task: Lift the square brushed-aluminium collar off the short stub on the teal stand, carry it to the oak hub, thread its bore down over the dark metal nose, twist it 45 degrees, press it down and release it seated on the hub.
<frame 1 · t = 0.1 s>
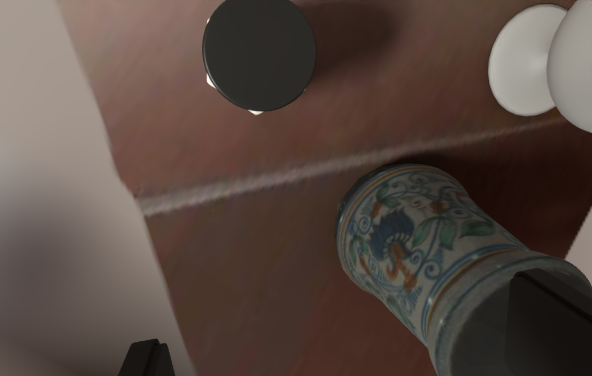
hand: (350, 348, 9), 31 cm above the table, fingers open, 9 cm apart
jar: (253, 63, 37), on the table
chalice: (533, 62, 41), on the table
beer stein: (404, 227, 45), on the table
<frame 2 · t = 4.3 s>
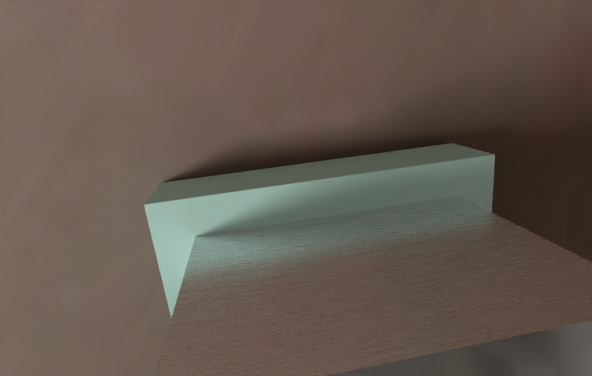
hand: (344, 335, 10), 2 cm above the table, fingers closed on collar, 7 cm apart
collar: (341, 328, 10), point 2 cm above the table, touching gripper, stand
stand: (325, 290, 12), on the table
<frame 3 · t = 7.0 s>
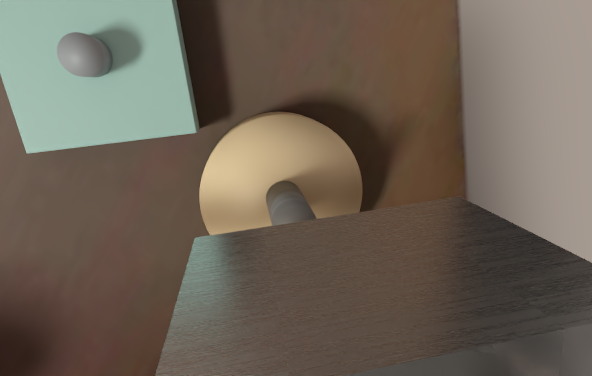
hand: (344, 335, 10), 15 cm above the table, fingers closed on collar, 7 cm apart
collar: (342, 330, 10), point 15 cm above the table, touching gripper
stand: (105, 59, 20), on the table
hub: (279, 186, 24), on the table
when the fingers open (3 cm above the table, at t = 10.0 s): collar stays where it is, resting on hub.
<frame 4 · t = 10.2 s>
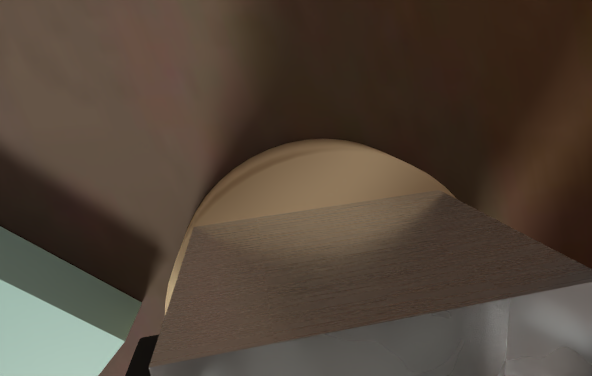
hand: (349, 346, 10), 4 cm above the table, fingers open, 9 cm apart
collar: (330, 314, 11), point 2 cm above the table, touching hub
hub: (318, 272, 13), on the table
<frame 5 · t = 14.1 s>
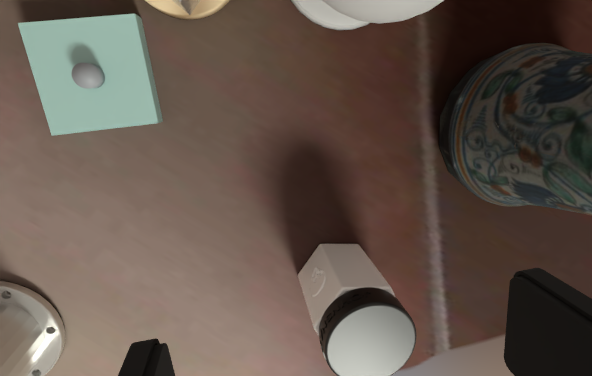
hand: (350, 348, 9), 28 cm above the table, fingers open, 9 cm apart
stand: (100, 76, 32), on the table
jar: (334, 273, 42), on the table
beer stein: (508, 113, 39), on the table
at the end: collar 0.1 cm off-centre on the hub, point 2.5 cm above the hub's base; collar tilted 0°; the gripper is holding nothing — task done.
